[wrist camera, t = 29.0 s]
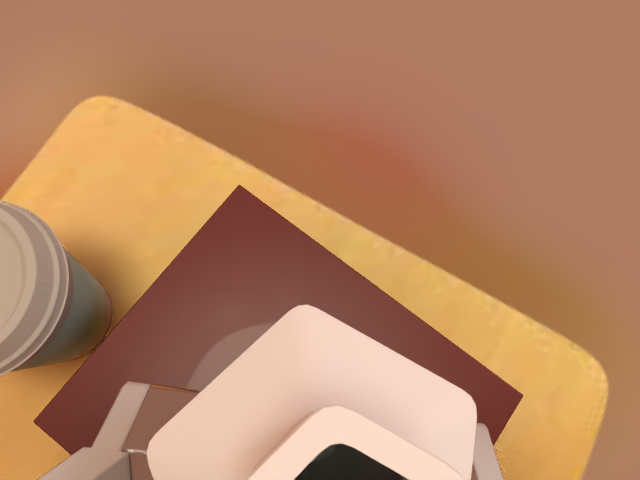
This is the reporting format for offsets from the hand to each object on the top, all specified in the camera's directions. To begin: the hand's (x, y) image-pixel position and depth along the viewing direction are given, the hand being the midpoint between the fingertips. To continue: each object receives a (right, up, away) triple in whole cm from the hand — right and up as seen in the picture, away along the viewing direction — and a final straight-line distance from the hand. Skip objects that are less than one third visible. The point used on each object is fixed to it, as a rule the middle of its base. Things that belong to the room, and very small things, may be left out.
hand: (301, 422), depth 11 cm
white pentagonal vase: (-1, -3, +8) cm, 9 cm away
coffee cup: (-16, -1, +22) cm, 27 cm away
